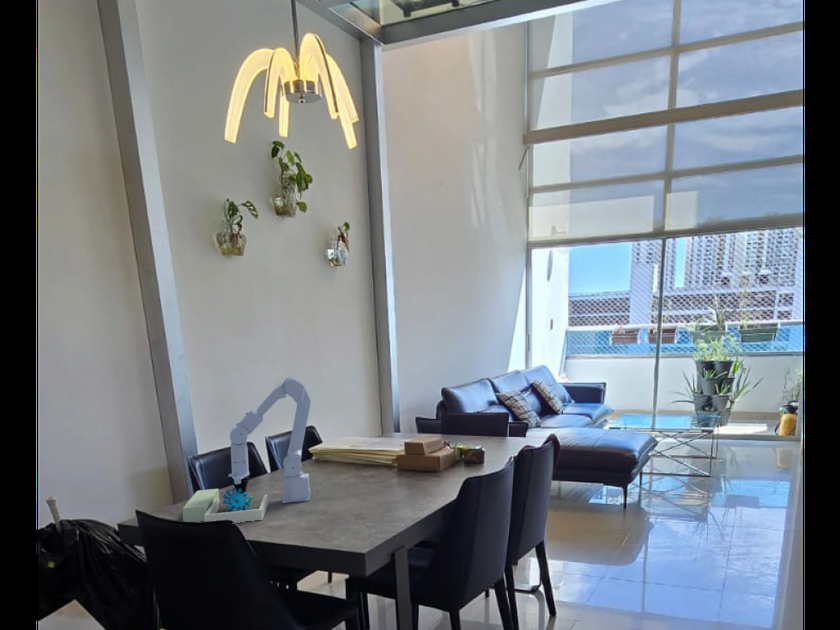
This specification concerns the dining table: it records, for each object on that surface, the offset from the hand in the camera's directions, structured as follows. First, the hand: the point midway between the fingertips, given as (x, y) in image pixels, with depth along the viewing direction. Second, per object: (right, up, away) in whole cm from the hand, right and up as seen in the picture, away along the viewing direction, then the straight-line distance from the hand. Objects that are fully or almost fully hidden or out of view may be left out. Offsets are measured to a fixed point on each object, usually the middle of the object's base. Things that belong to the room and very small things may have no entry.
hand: (241, 499), depth 209 cm
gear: (+1, -3, -6) cm, 6 cm away
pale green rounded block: (-12, -3, -5) cm, 14 cm away
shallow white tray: (+2, -2, -9) cm, 10 cm away
